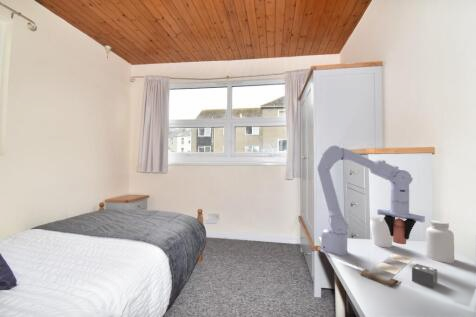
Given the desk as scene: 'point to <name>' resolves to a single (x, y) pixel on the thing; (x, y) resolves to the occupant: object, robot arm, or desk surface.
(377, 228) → the cup
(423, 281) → the dark grey block
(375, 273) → the board
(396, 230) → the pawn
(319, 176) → the robot arm
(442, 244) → the pill bottle
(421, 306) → the desk surface
